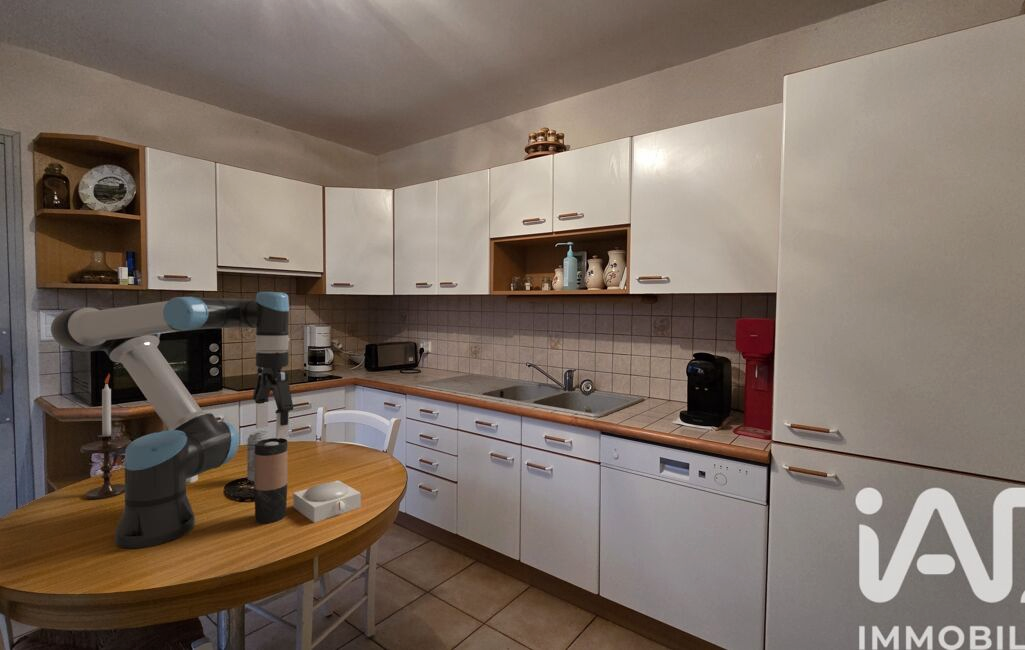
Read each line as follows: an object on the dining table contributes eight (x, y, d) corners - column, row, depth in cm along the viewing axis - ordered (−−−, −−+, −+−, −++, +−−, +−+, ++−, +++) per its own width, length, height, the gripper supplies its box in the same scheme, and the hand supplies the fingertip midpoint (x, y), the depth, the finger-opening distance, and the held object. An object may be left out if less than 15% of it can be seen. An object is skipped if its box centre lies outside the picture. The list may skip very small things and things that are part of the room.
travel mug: (293, 515, 119) (294, 440, 118) (264, 527, 112) (265, 448, 112) (276, 508, 123) (276, 436, 122) (247, 519, 116) (248, 443, 115)
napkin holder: (205, 482, 140) (205, 464, 140) (159, 491, 133) (159, 472, 133) (201, 469, 152) (201, 452, 152) (159, 476, 145) (159, 458, 145)
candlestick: (141, 486, 135) (140, 371, 134) (108, 501, 124) (107, 376, 123) (105, 485, 135) (105, 370, 134) (69, 500, 124) (68, 375, 123)
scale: (315, 523, 114) (315, 505, 114) (293, 507, 124) (293, 490, 123) (361, 507, 124) (362, 490, 124) (338, 493, 133) (338, 477, 133)
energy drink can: (273, 477, 145) (273, 431, 144) (258, 484, 139) (258, 436, 138) (257, 475, 146) (258, 429, 146) (242, 482, 140) (242, 434, 140)
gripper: (308, 354, 111) (307, 439, 111) (269, 347, 127) (268, 421, 128) (276, 356, 105) (275, 445, 106) (239, 348, 122) (239, 425, 122)
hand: (271, 432), depth 117 cm, fingers open, 13 cm apart
